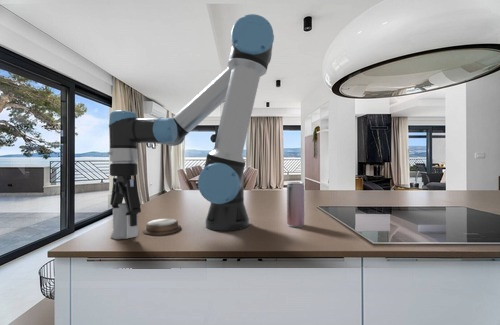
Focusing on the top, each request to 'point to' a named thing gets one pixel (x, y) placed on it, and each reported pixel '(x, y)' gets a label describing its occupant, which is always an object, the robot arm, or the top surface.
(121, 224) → the flask
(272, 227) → the top surface
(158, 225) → the pedestal
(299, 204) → the beverage can
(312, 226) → the top surface
